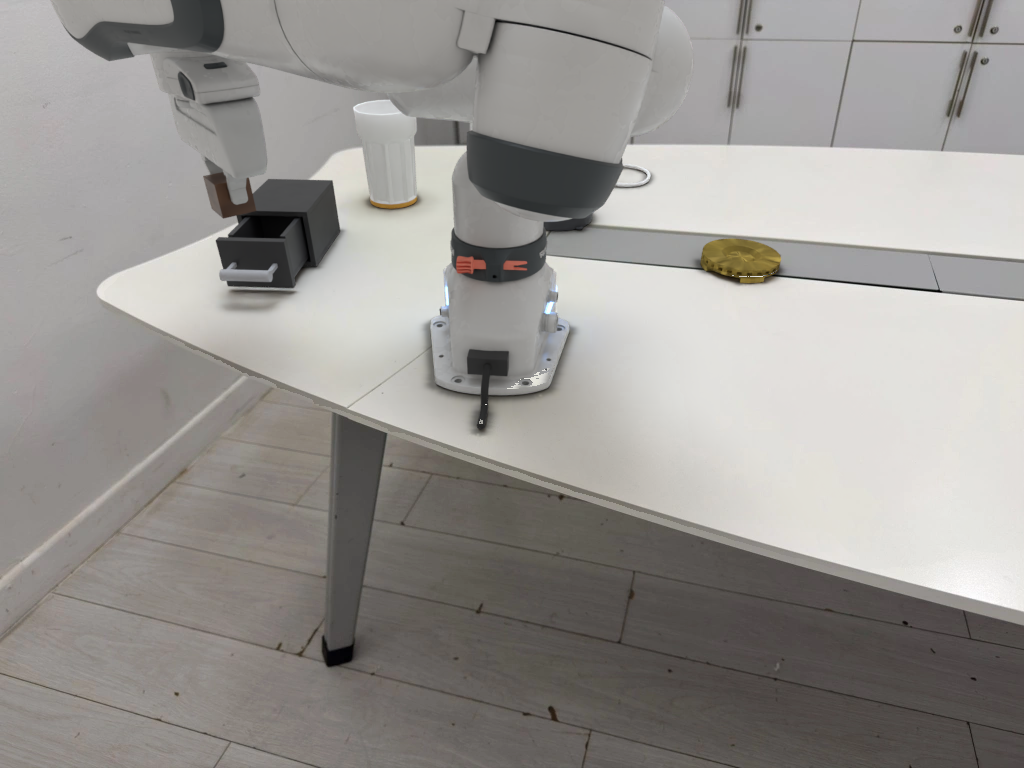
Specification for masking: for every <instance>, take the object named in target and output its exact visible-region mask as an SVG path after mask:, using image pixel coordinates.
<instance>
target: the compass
mask: <svg viewBox="0 0 1024 768" xmlns="http://www.w3.org/2000/svg"><path fill="white" fill-rule="evenodd" d="M700 256H701V257H700V266H701V268H702V269H703V270H704V272H711V271H713V272H715V273H718V274H720V275H724V276H727V277H732V278H735V279H736V278H737V279H739V284H761V283H764V280H765V278H768V277H770V276H771V277H772V276H773V275H775V274H776V273H777V272H779V269H780V265H781V262H782V256H781V254H780V253H779V251H777V250H776V249H775V248H773V247H771V246H770V245H767V244H765V243H762V242H758V241H754V240H751V239H744V238H734V237H733V238H730V237H729V238H718V239H714V240H711V241H709V242H707V243H705V244H704V245H703V247H702V251H701V255H700ZM776 270H777V271H776ZM775 271H776V272H775ZM773 272H775V273H773ZM771 273H773V274H771ZM768 274H770V275H768ZM732 275H734V276H732ZM763 275H767V276H763ZM739 276H747V277H739ZM748 276H749V277H748ZM750 276H763V277H750Z"/></svg>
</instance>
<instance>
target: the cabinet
mask: <svg viewBox="0 0 1024 768" xmlns="http://www.w3.org/2000/svg"><path fill="white" fill-rule="evenodd" d="M252 193H253V198H254V202H255V207H256V211H254V212H250V213H245V214H241V215H237V216H236V220H237V225H238V224H239V223H240V222H241V221H242V220H243V219H244V218H245V217H246V216H247V215H250V216H293V217H303V222H304V227H305V233H306V238H307V244H308V249H309V254H310V256H309V258H308V259H307V260H306V262H305V263H304V265H303V266H302V267H308V268H309V267H315V268H316V267H318V265H319V264H320V262H321V261H322V260H323V258H324V256H325V255H326V253H327V252H328V250H329V249H330V247H331V246H332V244H333V243H334V241H335V240H336V238H337V236H338V235H339V234H340V232H341V227H340V221H339V220H340V219H339V213H338V207H337V206H338V205H337V201H336V200H337V199H336V194H335V187H334V180H333V179H294V178H293V179H292V178H290V179H289V178H268V179H266V180H265V181H264V182H263V183H262V184H261V185H260V186H259V187H258V188H257V189H256V190H254V192H252Z"/></svg>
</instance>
